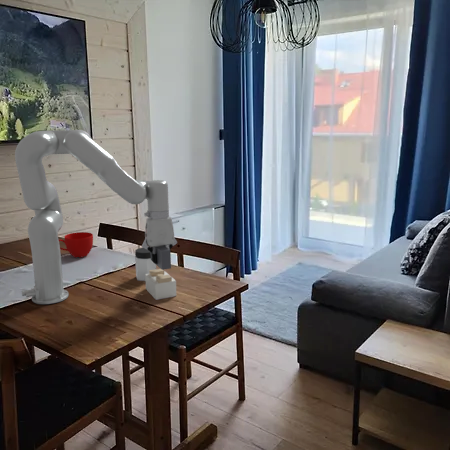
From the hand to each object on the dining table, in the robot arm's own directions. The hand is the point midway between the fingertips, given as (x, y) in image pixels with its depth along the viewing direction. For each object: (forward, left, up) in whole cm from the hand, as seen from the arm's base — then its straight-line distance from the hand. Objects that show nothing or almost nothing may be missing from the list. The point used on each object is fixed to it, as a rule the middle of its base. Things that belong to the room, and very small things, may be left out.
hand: (160, 262), depth 167 cm
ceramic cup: (-21, +62, -12) cm, 67 cm away
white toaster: (0, 0, -12) cm, 12 cm away
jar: (0, +18, -12) cm, 22 cm away
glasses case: (0, 0, -1) cm, 1 cm away
